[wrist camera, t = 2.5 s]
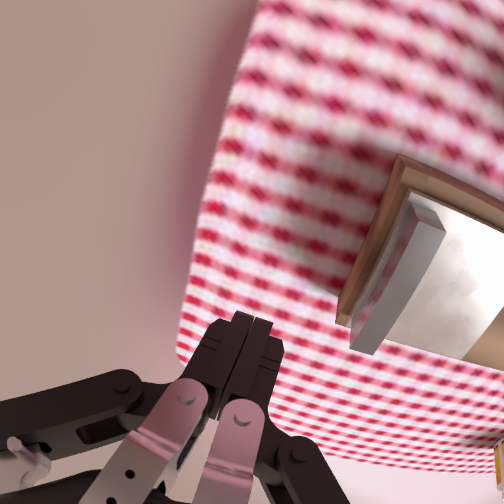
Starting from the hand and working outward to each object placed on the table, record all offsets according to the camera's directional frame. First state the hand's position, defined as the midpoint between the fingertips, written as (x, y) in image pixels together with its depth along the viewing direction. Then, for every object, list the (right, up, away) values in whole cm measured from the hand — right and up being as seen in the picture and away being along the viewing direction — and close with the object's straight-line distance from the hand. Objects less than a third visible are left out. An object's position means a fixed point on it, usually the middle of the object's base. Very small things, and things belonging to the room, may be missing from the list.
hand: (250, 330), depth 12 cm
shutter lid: (+12, +1, +5) cm, 13 cm away
